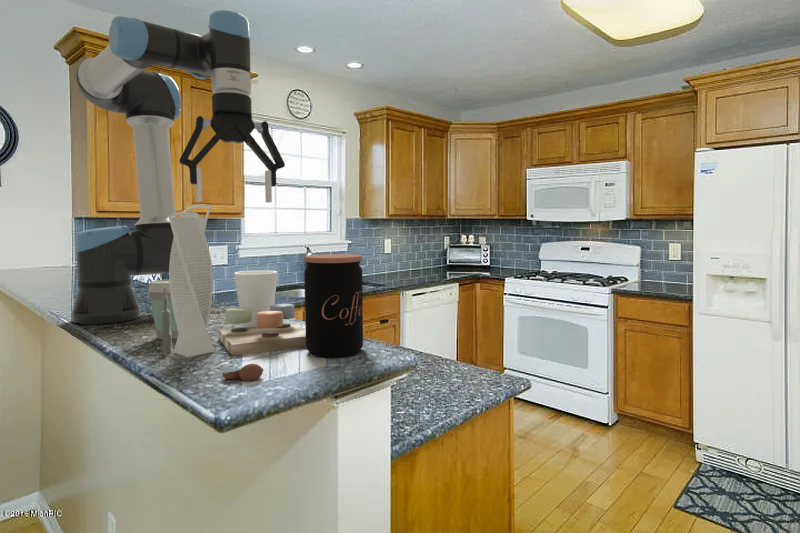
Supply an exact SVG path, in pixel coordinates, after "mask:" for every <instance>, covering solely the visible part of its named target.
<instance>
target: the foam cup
mask: <svg viewBox="0 0 800 533" xmlns="http://www.w3.org/2000/svg"><path fill="white" fill-rule="evenodd" d="M233 274H234V285H235V288H236V294H237V299H238V301H237V302H238V307H247V308H251V313H252V321H251V322H248V323H242V327H251V326H257V318H256V313H258V312H263V311H270V306H271V305H275V303H276V302H275V301H276V293H277V292H276V291H277V283H278V271H277V270H276V271H275V270H267V269H266V270H265V269H264V270H263V269H260V270H259V269H258V270H241V271H236V272H234V273H233Z"/></svg>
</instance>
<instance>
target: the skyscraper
mask: <svg viewBox="0 0 800 533" xmlns="http://www.w3.org/2000/svg"><path fill="white" fill-rule="evenodd" d="M195 208H207V210H206V214H205V217H202V216H200V214H199V213H198V212H187V211H190V210H191V209H195ZM211 209H212V206H211V205H209V204H206V203H201V204H199V203H198V204H193V205H190V206H188V207H186V208H185V209H183V210H182V211H180V212H175V213H173V214H171V215H170V216H169V220H170V224H171V228H172V231H173V235H174V238H173V243H172V248H171V254H170V263H169V274H168V278H169V284H170V294H171V301H172V307H173V312H174V316H175V320H176V324H177V328H178V332H179V334H178V338H177V339H176V343H175V347H174V348H173V339H172V333H171V323H170V310H168V300H167V297H166V288H164V297H163V307H164V311H162V326H163V334H162V337H163V339H162V352H160V354H161V355H163V356H166V357H169V358H171V359H175V360H177V361H180V360H181V361H182V360H185V359H190V358H195V357H200V356H204V355H210V354H215V353H216V351H215V348H214V346H213V343H212V340H211V337H210V334H209V332H208V329H207V328H208V325H209V318H210V314H211V308H212V303H213V302H212V301H213V300H212V299H213V290H214V288H213V287H214V286H213V285H214V275H213V274H214V273H213V263H212V256H211V252H210V248H209V244H208V241H207V237H206V229H207V223H208V218H209V215H210V212H211ZM173 216H175V217H173ZM173 349H174V350H173Z"/></svg>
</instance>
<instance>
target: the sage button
mask: <svg viewBox="0 0 800 533" xmlns="http://www.w3.org/2000/svg"><path fill="white" fill-rule="evenodd" d="M225 321H226V322H225V323H226V324H230V325H231V324H232V325H234V324H235V325H236V324H237V325H239V324H240V325H241V324H242V323H248V322H251V321H252V313H251V308H247V307H239V306H238V307H231V308H227V309H225Z"/></svg>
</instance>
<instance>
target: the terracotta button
mask: <svg viewBox="0 0 800 533" xmlns="http://www.w3.org/2000/svg"><path fill="white" fill-rule="evenodd" d="M256 318H257V327H258V328H277V327H281V326H283V323H284V320H283V312H281V311H263V312H258V313H256Z"/></svg>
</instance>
